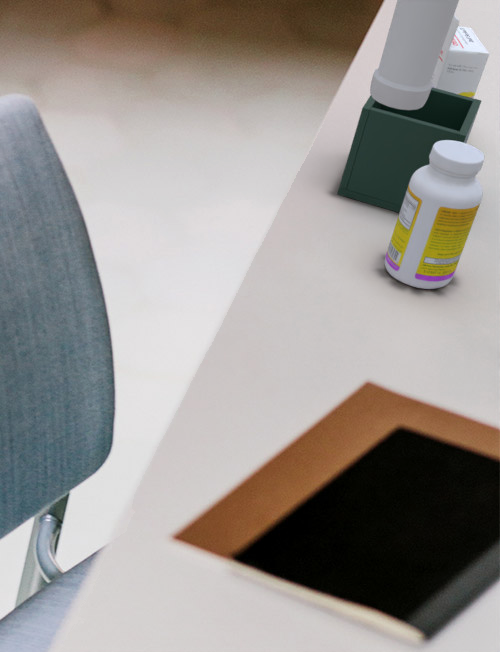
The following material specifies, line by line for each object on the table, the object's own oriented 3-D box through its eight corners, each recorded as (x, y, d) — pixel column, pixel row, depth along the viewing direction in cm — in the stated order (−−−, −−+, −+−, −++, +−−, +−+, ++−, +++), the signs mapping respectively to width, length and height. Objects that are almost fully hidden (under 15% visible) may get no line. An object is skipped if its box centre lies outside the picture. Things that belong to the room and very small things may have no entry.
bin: (451, 184, 132) (481, 100, 126) (435, 223, 124) (466, 135, 118) (358, 157, 135) (383, 74, 128) (337, 194, 127) (362, 107, 121)
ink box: (457, 152, 139) (502, 27, 129) (415, 148, 138) (457, 21, 129) (440, 121, 145) (481, -1, 136) (400, 116, 145) (438, -6, 136)
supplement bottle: (462, 276, 116) (509, 155, 108) (430, 299, 112) (476, 175, 104) (402, 248, 119) (443, 128, 111) (369, 269, 115) (409, 146, 107)
